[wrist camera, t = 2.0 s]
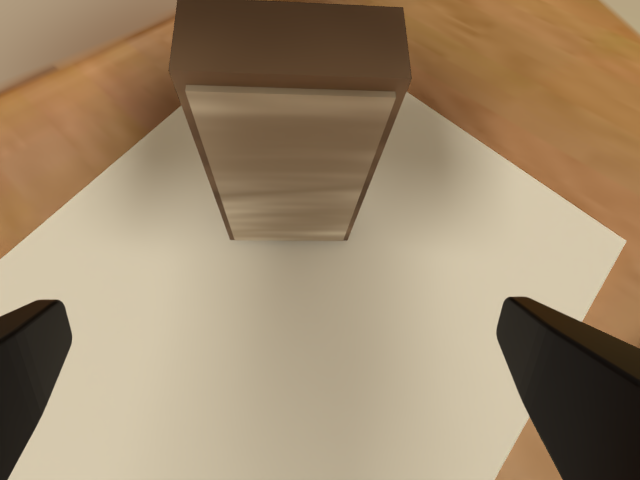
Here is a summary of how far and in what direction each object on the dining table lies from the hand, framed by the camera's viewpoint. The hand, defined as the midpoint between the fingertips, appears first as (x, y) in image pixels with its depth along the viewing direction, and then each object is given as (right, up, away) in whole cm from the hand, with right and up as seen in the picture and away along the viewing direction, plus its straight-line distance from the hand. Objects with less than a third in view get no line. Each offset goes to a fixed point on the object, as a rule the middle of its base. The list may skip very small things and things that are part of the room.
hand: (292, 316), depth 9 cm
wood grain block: (-1, +3, +13) cm, 14 cm away
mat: (-1, -1, +12) cm, 12 cm away
